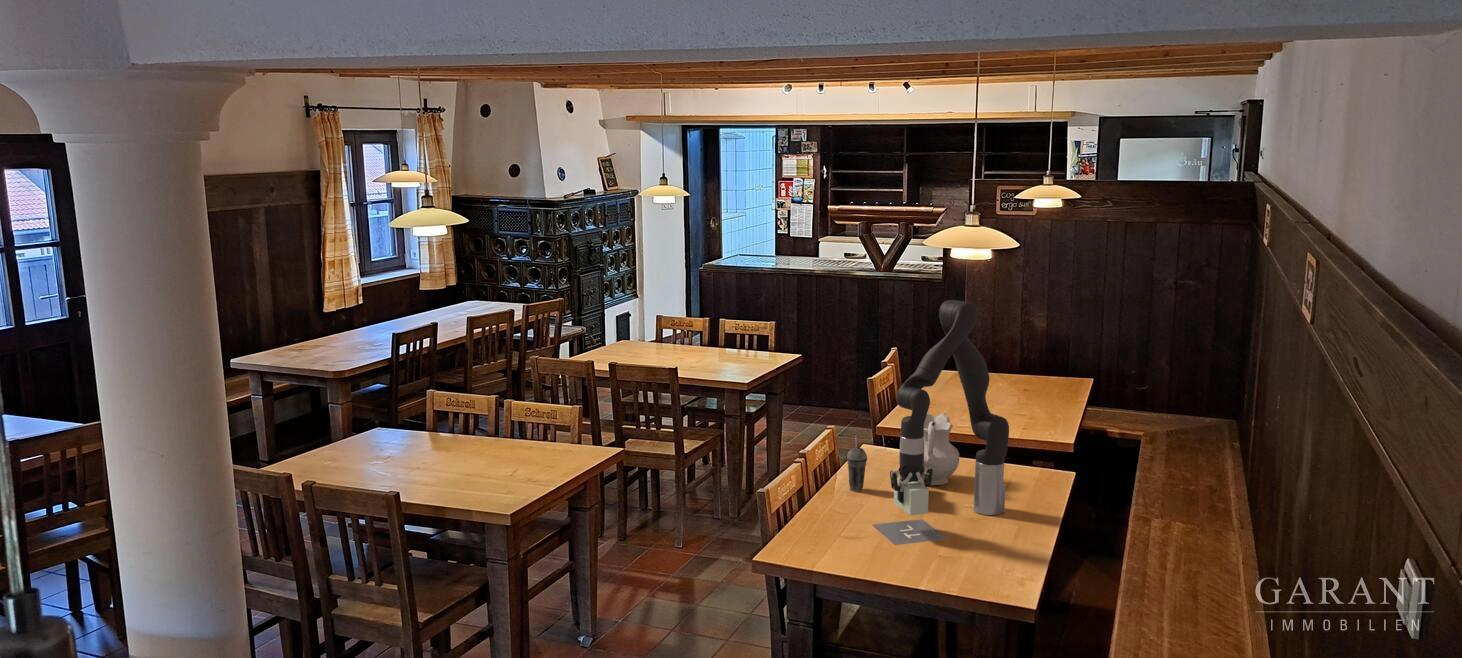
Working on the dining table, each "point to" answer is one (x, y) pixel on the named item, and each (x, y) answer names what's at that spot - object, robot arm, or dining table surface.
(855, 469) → the beverage cup
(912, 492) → the sage block
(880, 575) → the dining table surface
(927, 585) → the dining table surface
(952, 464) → the ceramic pitcher
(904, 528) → the gray tile
